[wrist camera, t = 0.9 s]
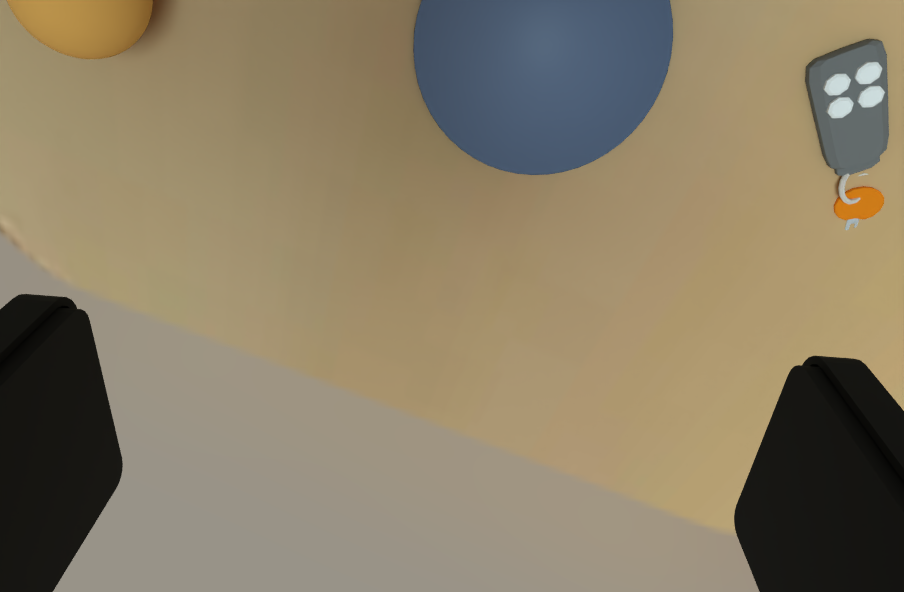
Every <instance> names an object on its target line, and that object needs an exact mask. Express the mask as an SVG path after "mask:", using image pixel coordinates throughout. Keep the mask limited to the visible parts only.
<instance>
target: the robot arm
mask: <svg viewBox="0 0 904 592" xmlns="http://www.w3.org/2000/svg"><path fill="white" fill-rule="evenodd" d="M121 473H122V456H121V452H120V448H119V444H118V439H117V435H116V431H115V426H114V422H113V418H112V414H111V409H110V405H109V401H108V397H107V393H106V388H105V384H104V380H103V375H102V371H101V367H100V363H99V358H98V354H97V350H96V345H95V341H94V337H93V333H92V329H91V324H90V320H89V317H88V315H87V314H86V312H85V311H83V310H81V309H77V307H76V305H75V304H74V302H73V301H72V300H71V299H69V298H67V297H57V296H43V295H31V294H21V295H18V296H16V297H15V298H13V299H12V300H11V301H10V302H8V303H7V304H6V305H5V306H4V307H3V308H1V309H0V592H53V590H54V589H55V587H56V585H57V584H58V582H59V581H60V579H61V577H62V576H63V574H64V572H65V571H66V569H67V567H68V566H69V564H70V563H71V561H72V559H73V558H74V556H75V554H76V553H77V551H78V549H79V548H80V546H81V545H82V543H83V542H84V540H85V538H86V537H87V535H88V533H89V532H90V530H91V528H92V527H93V525H94V524H95V522H96V520H97V518H98V517H99V515H100V514H101V512H102V510H103V509H104V507H105V506H106V504H107V502H108V501H109V499H110V498H111V496H112V494H113V493H114V491H115V489H116V487H117V486H118V484H119V481H120V478H121ZM734 523H735V530H736V533H737V537H738V539H739V542H740V544H741V547H742V549H743V551H744V554H745V556H746V559H747V561H748V564H749V566H750V569H751V571H752V574H753V576H754V579H755V581H756V584H757V586H758V589H759V591H760V592H904V411H903V410H902V408H901V407H900V406H899V405H898V403H897V402H896V401H895V400H894V399H893V397H892V396H891V395H890V394H889V393H888V391H887V390H886V389H885V388H884V386H883V385H882V384H881V383H880V382H879V380H878V379H877V378H876V377H875V376H874V374H873V373H872V372H871V371H870V369H869V368H868V367H867V366H866V365H865V364H864V363H863V362H862V361H860V360H857V359H850V358H837V357H824V356H812V357H809V358H808V359H807V360H806V361H805V362H804V363H803V365H802V366H800V365H798V366H795V367H793V368H792V369H791V371H790V373H789V374H788V377H787V379H786V382H785V384H784V387H783V389H782V392H781V394H780V397H779V399H778V402H777V404H776V407H775V409H774V412H773V415H772V417H771V420H770V422H769V425H768V427H767V430H766V432H765V435H764V437H763V440H762V442H761V445H760V447H759V450H758V452H757V455H756V457H755V460H754V462H753V465H752V467H751V470H750V473H749V475H748V478H747V480H746V483H745V485H744V488H743V490H742V493H741V495H740V498H739V500H738V503H737V505H736V509H735V515H734Z"/></svg>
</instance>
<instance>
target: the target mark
mask: <svg viewBox="0 0 904 592" xmlns="http://www.w3.org/2000/svg"><path fill="white" fill-rule="evenodd" d="M672 42H673V19H672V13H671V6H670V1H669V0H422V1H421V5H420V8H419V11H418V14H417V20H416V26H415V31H414V62H415V70H416V75H417V80H418V84H419V87H420V90H421V93H422V96H423V99H424V101H425V103H426V105H427V107H428V109H429V111H430V113H431V115H432V116H433V118H434V120H435V121H436V123H437V124H438V126H439V127H440V128H441V129H442V131H443V132H444V133H445V134H446V135H447V136H448V138H449V139H450V140H451V141H453V142H454V143H455V144H456V145H457V146H458V147H459V148H460V149H461V150H463V151H464V152H466V153H467V154H469V155H470V156H472V157H473V158H475V159H477V160H479V161H481V162H483V163H485V164H487V165H489V166H492V167H494V168H497V169H500V170H503V171H508V172H512V173H517V174H528V175H542V174H553V173H559V172H564V171H568V170H571V169H575V168H578V167H581V166H583V165H585V164H588V163H590V162H592V161H594V160H596V159H598V158H600V157H601V156H603V155H605V154H607V153H608V152H609V151H611V150H612V149H614V148H615V147H616V146H618V145H619V144H620V143H621V142H622V141H624V140H625V139H626V138H627V137H628V136H629V135H630V134H631V133H632V132H633V131H634V130H635V129H636V127H637V126H638V125H639V124H640V123H641V122H642V120H643V119H644V118H645V116H646V115H647V113H648V112H649V110H650V109H651V107H652V106H653V104H654V102H655V100H656V98H657V96H658V94H659V92H660V90H661V88H662V85H663V82H664V80H665V77H666V74H667V71H668V66H669V62H670V58H671V51H672Z"/></svg>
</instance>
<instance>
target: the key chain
mask: <svg viewBox="0 0 904 592" xmlns="http://www.w3.org/2000/svg"><path fill="white" fill-rule="evenodd" d="M805 82H806V86H807V91H808V95H809V99H810V104H811V108H812V113H813V117H814V121H815V125H816V130H817V134H818V138H819V142H820V146H821V150H822V154H823V157H824V159H825V161H826V163H827V165H828V166H829V167H830V168H833V169H835V174H837V175H841V176H842V177H841V179H840V182H839V187H838V191H839V197H838V198H837V200H836V202H835V204H834V212H835V213H836V215H837V216H838V217H839V218H841V219H844V220H847V223H846V227H845V230H849V226H850V224H853V223H855V226H854V228H855V227H856V226H857V224H858V221H859V219H867V218H869V217H872V216H874V215H875V214H876V213H877V212H879V211H880V209H881V208H882V206H883V204H884V197H883V195H882V194H881V192H880V191H878V190H876V189H874V188H872V187H864V186H863V187H857V188H852V189H850V190H848V191H846V192H845V189H844V187H845V183H846V180H847V178H848V177H849V175H851V174H854V173H857V172H860V171H863V170H866V169H869V168H871V167H873V166H874V165H875V164H877V163H878V162H879V161H880V157H879V156H880V155H881V154H882V153H883V152H884V151H885V150H886V149H887V143H888V137H889V124H888V83H887V54H886V52H885V49H884V46H883V43H882V41H879V40H874V39H866V40H863V41H860V42H858V43H855V44H852V45H849V46H846V47H843V48H840V49H838V50H835V51H833V52H830V53H828V54H825V55H823V56H821V57H818V58H816V59H814V60H813V61H812V62H810V63H809V64H808V65H807V66H806V77H805ZM862 175H868V174H866V173H863V174H861V175H859V176H862Z"/></svg>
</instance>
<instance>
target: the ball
mask: <svg viewBox="0 0 904 592" xmlns="http://www.w3.org/2000/svg"><path fill="white" fill-rule="evenodd" d="M7 2H8V4H9V6H10V8H11V10H12V11H13V13H14V15H15V16H16V18H17V19H18V21H19V22H20V23H21V24H22V26H23V27H24V28H25V29H26V30H27V31H28V32H29V33H30V34H31V35H32V36H33V37H35V38H36V39H37V40H38V41H40V42H41V43H43V44H44V45H46V46H48V47H49V48H51V49H53V50H55V51H57V52H59V53H62V54H65V55H68V56H72V57H76V58H82V59H102V58H107V57H111V56H114V55H117V54H120V53H121V52H123V51H125V50H127V49H128V48H130V47H131V46H132V45H133V44H135V43H136V42H137V41H138V39H139V38H140V37H141V36H142V34H143V33H144V31H145V30H146V28H147V26H148V23H149V20H150V17H151V13H152V6H153V0H7Z"/></svg>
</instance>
